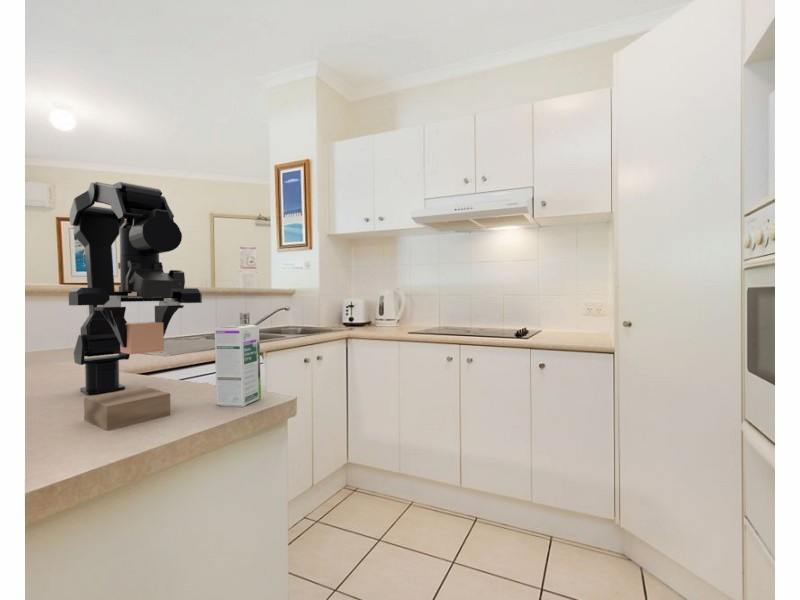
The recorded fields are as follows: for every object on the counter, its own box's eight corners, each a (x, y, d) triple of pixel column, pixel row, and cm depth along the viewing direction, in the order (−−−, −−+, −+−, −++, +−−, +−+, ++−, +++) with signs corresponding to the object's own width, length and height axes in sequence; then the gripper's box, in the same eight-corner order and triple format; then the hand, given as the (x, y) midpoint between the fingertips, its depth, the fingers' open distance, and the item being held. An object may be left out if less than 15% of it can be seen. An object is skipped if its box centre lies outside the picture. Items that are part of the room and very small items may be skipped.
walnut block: (84, 422, 63) (84, 397, 63) (145, 408, 70) (145, 386, 70) (107, 433, 58) (107, 406, 58) (170, 417, 65) (170, 393, 65)
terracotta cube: (120, 352, 68) (119, 323, 68) (152, 348, 72) (151, 321, 72) (131, 354, 65) (130, 324, 65) (163, 350, 69) (163, 322, 69)
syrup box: (244, 407, 69) (243, 326, 69) (214, 405, 71) (213, 326, 70) (261, 398, 75) (260, 324, 75) (234, 397, 76) (233, 323, 76)
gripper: (87, 248, 56) (90, 356, 56) (215, 257, 71) (217, 342, 71) (66, 254, 62) (69, 350, 63) (187, 261, 77) (189, 339, 77)
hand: (142, 345), depth 68 cm, fingers closed on terracotta cube, 5 cm apart
